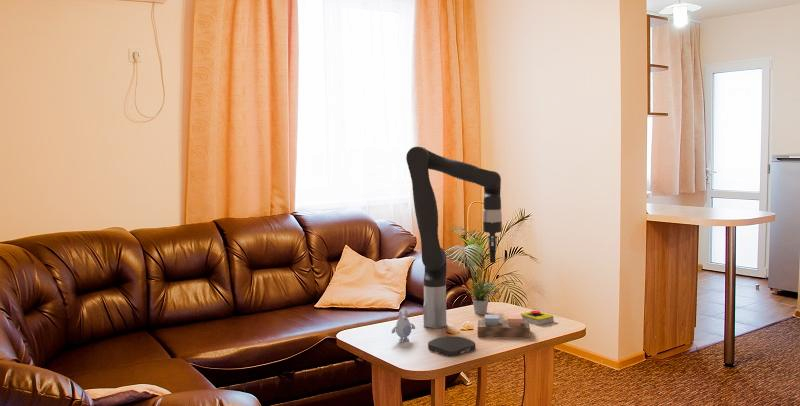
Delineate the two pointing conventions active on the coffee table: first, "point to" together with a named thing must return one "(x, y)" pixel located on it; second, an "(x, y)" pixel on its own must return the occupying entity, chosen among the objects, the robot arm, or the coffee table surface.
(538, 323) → the emergency button
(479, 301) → the house plant
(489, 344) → the coffee table surface
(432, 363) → the coffee table surface
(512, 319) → the terracotta key
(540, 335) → the coffee table surface
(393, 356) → the coffee table surface
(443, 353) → the media streaming box
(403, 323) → the toy figure
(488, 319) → the slate-blue key
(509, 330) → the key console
